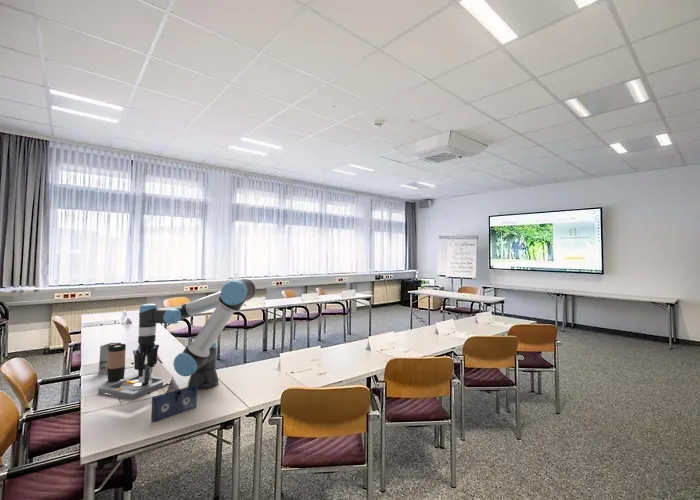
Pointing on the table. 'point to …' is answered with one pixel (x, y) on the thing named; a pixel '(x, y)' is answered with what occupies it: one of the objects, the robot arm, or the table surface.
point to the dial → (137, 381)
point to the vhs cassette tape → (173, 403)
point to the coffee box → (104, 358)
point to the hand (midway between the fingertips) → (145, 381)
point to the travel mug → (116, 362)
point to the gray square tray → (119, 392)
